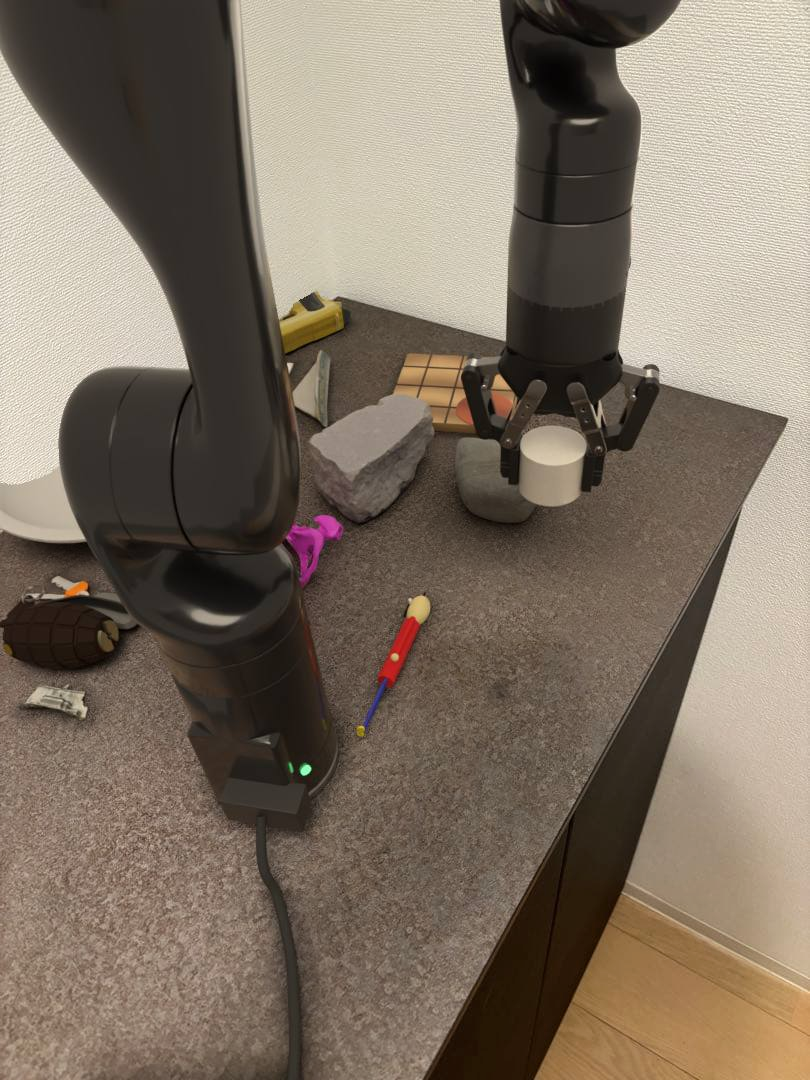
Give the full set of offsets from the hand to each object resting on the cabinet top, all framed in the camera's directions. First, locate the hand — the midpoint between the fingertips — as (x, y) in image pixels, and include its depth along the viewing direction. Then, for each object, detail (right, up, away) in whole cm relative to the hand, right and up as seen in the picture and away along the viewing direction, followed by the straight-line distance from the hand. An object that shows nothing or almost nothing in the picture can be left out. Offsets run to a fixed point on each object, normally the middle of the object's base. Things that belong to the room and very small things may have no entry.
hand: (550, 481), depth 62 cm
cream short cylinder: (0, 0, 0) cm, 0 cm away
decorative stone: (-15, +1, +21) cm, 26 cm away
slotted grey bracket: (-40, -19, +1) cm, 44 cm away
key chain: (-41, -10, +10) cm, 43 cm away
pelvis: (-23, -8, +12) cm, 28 cm away
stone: (-2, 0, +18) cm, 19 cm away
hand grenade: (-35, -12, +4) cm, 37 cm away
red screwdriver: (-8, -16, +3) cm, 18 cm away
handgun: (-33, +27, +47) cm, 63 cm away
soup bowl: (-43, 0, +23) cm, 49 cm away
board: (-5, +12, +31) cm, 34 cm away
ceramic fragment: (-22, +13, +33) cm, 42 cm away
